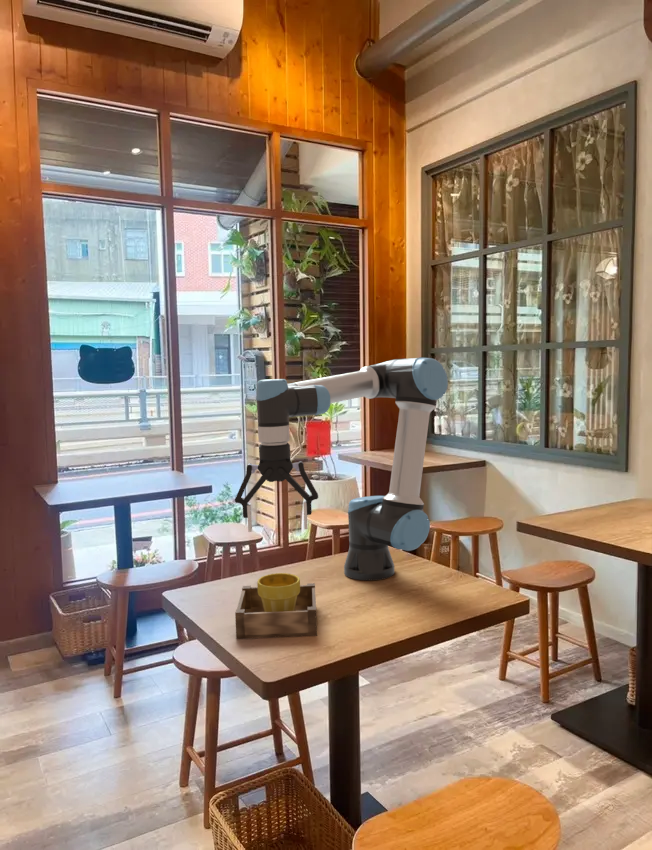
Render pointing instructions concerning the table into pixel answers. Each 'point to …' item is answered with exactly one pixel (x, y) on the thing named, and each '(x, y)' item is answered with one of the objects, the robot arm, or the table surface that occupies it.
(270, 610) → the plant pot
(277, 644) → the table surface
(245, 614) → the walnut crate
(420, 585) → the table surface
